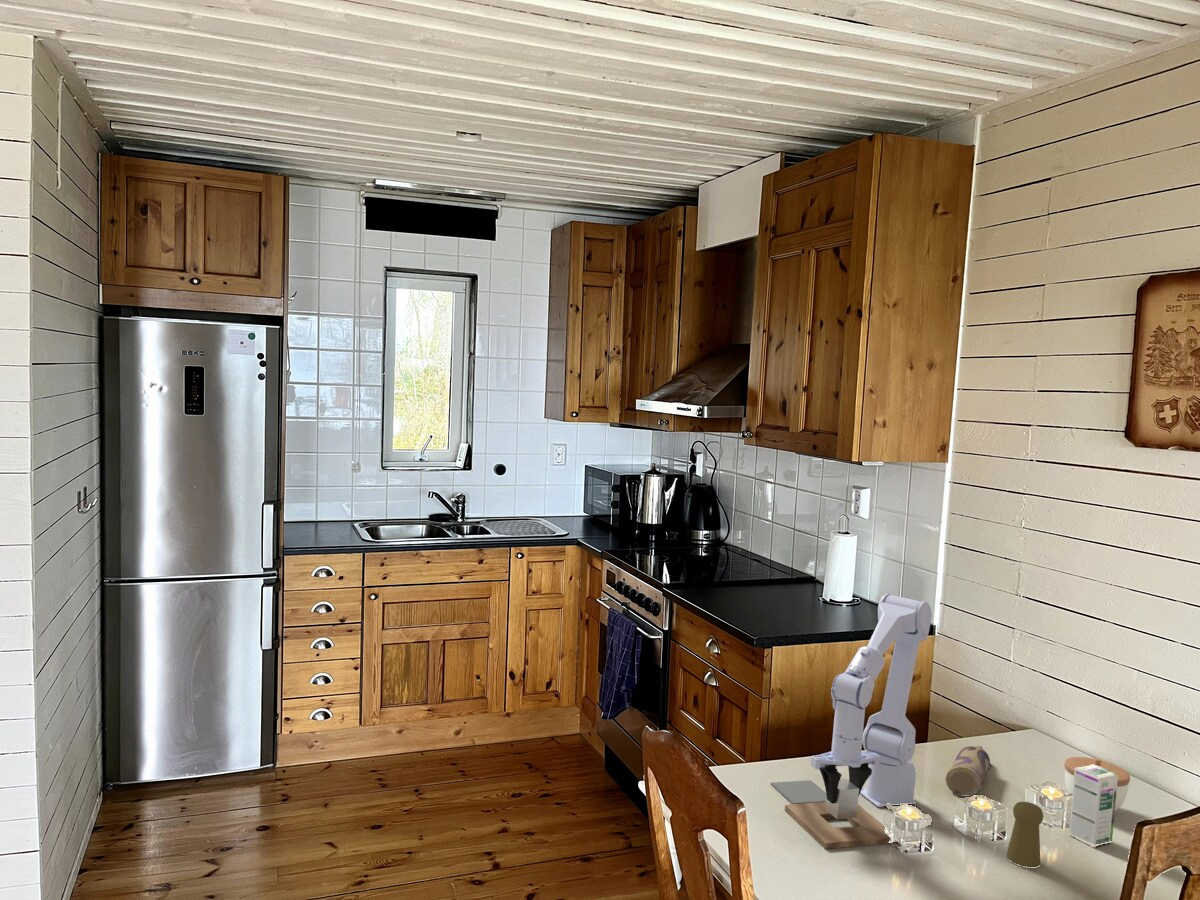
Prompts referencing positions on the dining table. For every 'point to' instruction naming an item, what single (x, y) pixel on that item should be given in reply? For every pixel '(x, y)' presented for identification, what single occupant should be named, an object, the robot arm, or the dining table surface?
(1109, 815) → the syrup box
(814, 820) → the walnut hole plate
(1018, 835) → the olive pawn figure
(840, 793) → the steel plug
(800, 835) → the dining table surface
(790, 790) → the gray square plate
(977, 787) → the decorative bottle
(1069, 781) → the lidded bowl
